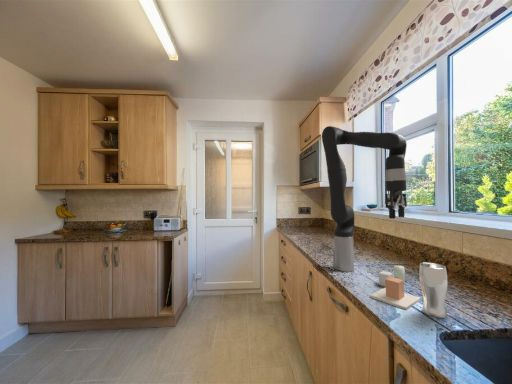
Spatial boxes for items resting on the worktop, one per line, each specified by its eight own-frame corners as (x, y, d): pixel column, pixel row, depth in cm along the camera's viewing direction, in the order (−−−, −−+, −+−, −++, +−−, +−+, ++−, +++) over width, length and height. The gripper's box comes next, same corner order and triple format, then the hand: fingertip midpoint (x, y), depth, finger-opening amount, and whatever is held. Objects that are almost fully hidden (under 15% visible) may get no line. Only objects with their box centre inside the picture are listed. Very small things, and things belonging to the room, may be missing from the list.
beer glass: (415, 308, 74) (413, 262, 75) (435, 307, 75) (433, 262, 75) (433, 319, 67) (431, 269, 68) (455, 318, 68) (452, 268, 68)
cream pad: (370, 297, 83) (369, 295, 83) (385, 289, 90) (385, 287, 90) (406, 310, 73) (406, 307, 73) (420, 299, 80) (420, 297, 80)
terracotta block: (385, 295, 82) (385, 279, 82) (391, 292, 85) (390, 276, 85) (399, 300, 79) (398, 282, 79) (404, 296, 81) (403, 280, 81)
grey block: (379, 284, 95) (378, 272, 95) (383, 282, 97) (383, 270, 97) (389, 287, 92) (388, 275, 92) (393, 285, 94) (393, 273, 94)
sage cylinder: (392, 280, 100) (392, 266, 100) (396, 278, 102) (396, 264, 102) (402, 282, 97) (402, 268, 97) (406, 280, 99) (406, 266, 99)
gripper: (393, 181, 103) (395, 216, 103) (378, 180, 95) (379, 218, 95) (412, 179, 97) (413, 217, 97) (397, 178, 89) (399, 219, 89)
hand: (397, 217), depth 96 cm, fingers open, 8 cm apart
